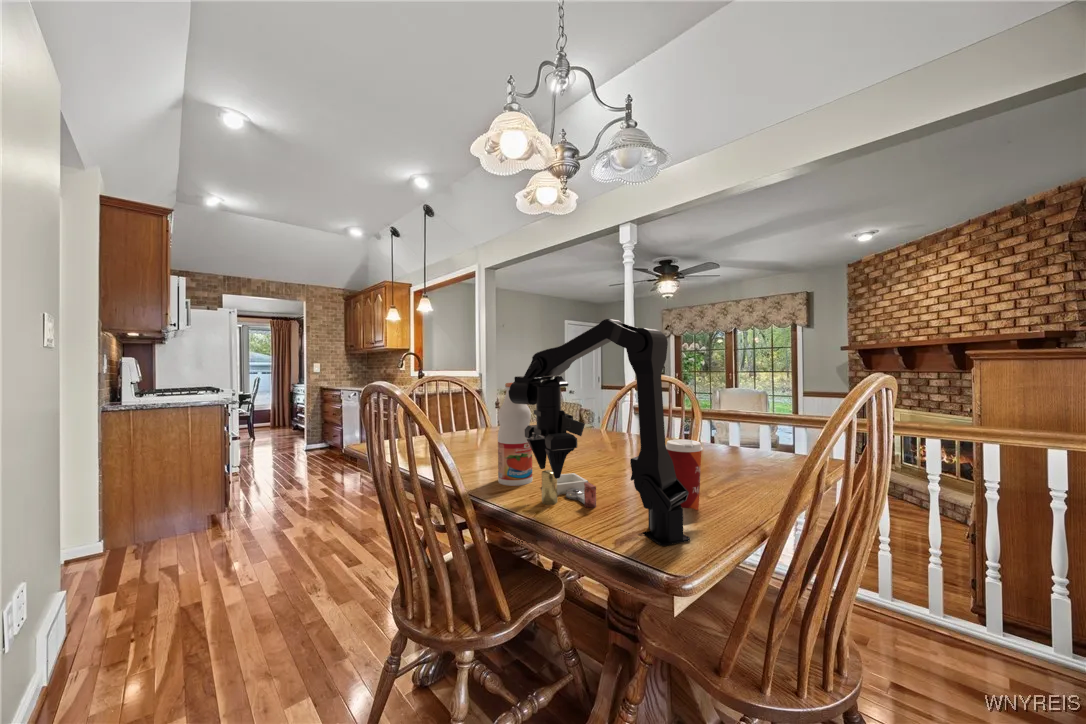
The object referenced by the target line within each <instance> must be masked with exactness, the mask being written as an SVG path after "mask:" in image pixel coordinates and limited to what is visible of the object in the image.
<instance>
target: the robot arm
mask: <svg viewBox="0 0 1086 724" xmlns="http://www.w3.org/2000/svg"><path fill="white" fill-rule="evenodd" d="M611 342H612V343H614V344H615V345H617V346H619V347H622V348H623V349H625V350H626V353H627V358H628V363H630V366H631V368H632V370H633V372H634V373H635V377H636V392H637V393H636V394H637V406H638V407H637V411H638V412H637V413H638V422H639V423H638V425H639V426H638V427H639V443H640V449H639V453H638V456H635V457H633V458H630V461H629V462H630V468H631V476H630V481H631V482H632V481H633V486H634V489H635V491H637V492H638V494H639V495H640V496H639V497H640V500H641V502H642V506H643V508H644V509H645V510H648V528H649V530H648V531H647V530H646V531H643V532H642V535H644V536H645V537H647V538H649V539H650V540H651V541H653V542H654V543H656V544H658V545H659V546H662V547H665V546H671V545H676V544H681V543H685V542H690V541H691V537H690V536H689V535H686V534H685V533H684V508H682V507H681V505H680V504H681V503H683V502H685V501H686V499H687V497H688V494H689V492H688V491H687V489H686V488H685V487H684V486H683V485H682V484H681V482H680V481H679V480H678V479H677V478H676V474H675V469H674V465H673V461H672V459H671V457H670V455H669V453H668V451H667V449H666V445H667V444H666V432H665V416H664V401H663V399H664V398H663V387H662V386H663V383H662V372H663V370H664V367H665V364H666V360H667V355H668V347H669V346H668V344H669V342H668V338H667V336H666V334H664V333H663V332H662V331H661V330H659V329H654V328H646V327H636V326H633V325H629V324H627V323H624V322H622V321H620V320H618V319H611V318H605V319H603V320H601V321H600V322H599V323H598V324H596V325H595V326H592V327H590V328H589V329H588V330H585V331H584V332H583V333H581V334H579V335H578V336H575V337H574V338H572V339H570V340H568V341H567V342H565V343H563V344H561V345H560V346H559V345H558V346H556V347H552V348H550V347H549V348H546V349H544V350H541V351H538V352H535V353H534V354H533V355H532V357H531V362H530V364H529V366H528V368H527V370H526V372H525V373H524V375H523V376H518V375H517V376H514V378H513V382H511V383H512V384H511V386H510V389H509V398H510V400H511V401H512V402H513V403H515V404H527V406H528V405H531V406H535V405H536V409H533V415H534V416H536V424H532V425H528V426H527V427H526V428H525V437H526V438H530V439H527V441H528V443H529V445H530V447H531V449H532V454H533V455H534V457H535V460H536V462H537V465H538V467H539V469H540V470H544V469H546V464H547V458H548V462H549V466H550V470H552V472H553V475H554V477H555V478H556V479H557V478H560V475H561V474H562V472H563V468H564V464H565V461H566V458H567V456H568V455H569V453H571V452H573V451H575V449H576V448H578V438H577V437H576V436H575V435H577V436H579V437H582V436H583V432H584V429H585V425H586V423H585V422H582V421H579V420H575V419H574V415H572V414H568V413H566V412H565V410H562V400H561V399H562V398H561V397H562V396H561V395H562V393H561V390H562V388H563V387H569V384H570V383H568V381H566V380H565V379H564V378H563V376H562V374H563V373H564V372H565V371H567V370H568V369H569V368H570V367H571V365H572V364H573V363H575V361H577V360H579V359H580V358H583V357H584V356H586V355H588V354H589V353H591V352H593V351H595V350H598V349H599V348H601V347H603V346H605V345H607V344H608V343H611ZM561 387H562V388H561Z"/></svg>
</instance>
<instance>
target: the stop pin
mask: <svg viewBox="0 0 1086 724" xmlns="http://www.w3.org/2000/svg"><path fill="white" fill-rule="evenodd" d="M541 503H542V505H547V506H550V505H556V504H557V503H558V495H557V479H556V478H555V477H554V475H553V472H552V469H546V470H543V471H541Z"/></svg>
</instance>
